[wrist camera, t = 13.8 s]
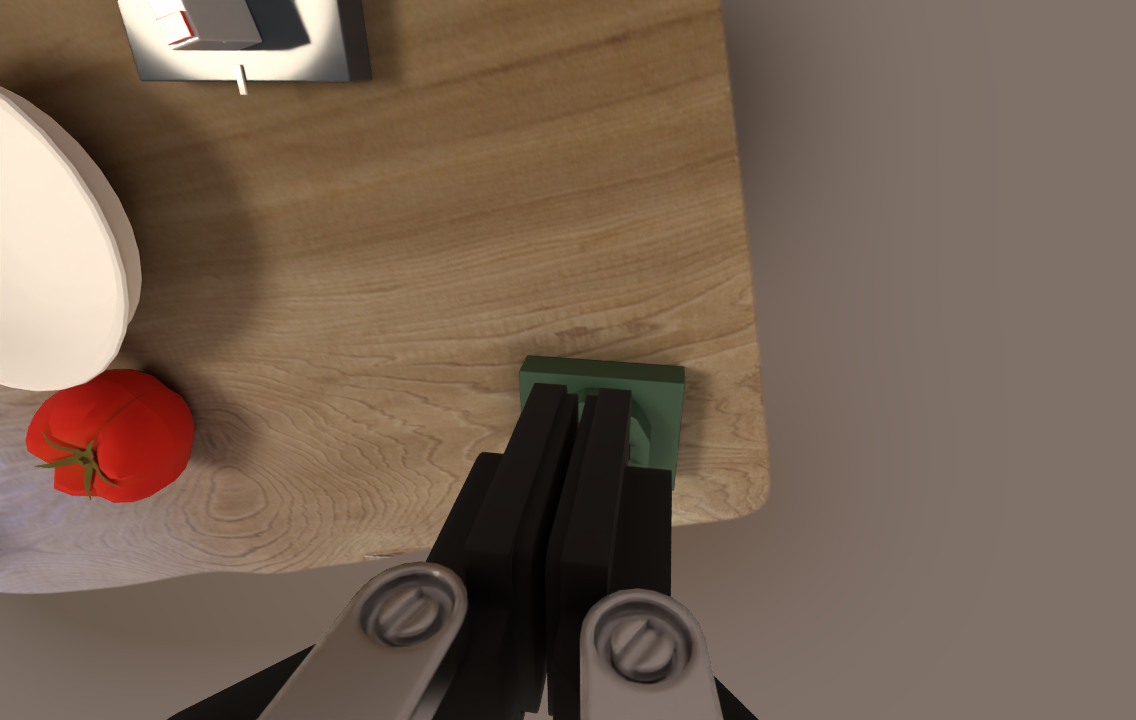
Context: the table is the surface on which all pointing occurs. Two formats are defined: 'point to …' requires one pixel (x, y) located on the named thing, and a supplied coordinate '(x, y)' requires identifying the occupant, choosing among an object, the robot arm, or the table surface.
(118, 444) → the tomato
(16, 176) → the bowl
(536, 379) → the green button base
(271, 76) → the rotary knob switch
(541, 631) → the robot arm
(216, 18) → the grey block
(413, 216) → the table surface
